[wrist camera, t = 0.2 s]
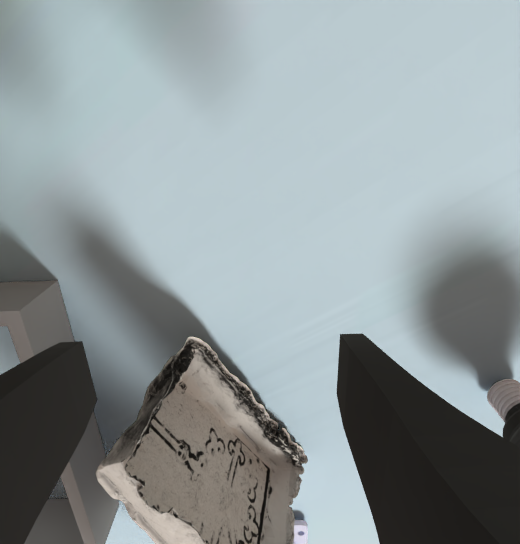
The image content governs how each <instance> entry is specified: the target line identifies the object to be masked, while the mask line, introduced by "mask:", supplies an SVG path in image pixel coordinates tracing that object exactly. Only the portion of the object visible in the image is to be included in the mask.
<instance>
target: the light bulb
mask: <svg viewBox="0 0 520 544" xmlns="http://www.w3.org/2000/svg"><path fill="white" fill-rule="evenodd" d="M487 399H488V402H489V403H490V404H491V406H492V407H493V408H494V409H495V411H496V412H497V413H498V414H499V416H501V418H502V419H503V420H504V422H505V425H504V428H503V438H505V439H506V440H508V441H510V442H512V443H513V444H515V445H517V446H519V447H520V383H519V382H518V381H516V380H513V379H505V380H501V381H499V382H497V383H495V384H494V385H493V386H492V387H491V388H490V389H489V391H488V394H487Z"/></svg>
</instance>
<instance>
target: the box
mask: <svg viewBox="0 0 520 544" xmlns="http://www.w3.org/2000/svg"><path fill="white" fill-rule="evenodd" d="M0 326H8V329H9V332H10V334H11V337H12V340H13V343H14V346H15V349H16V352H17V354H18V357H19V360H20V363H22V362H24V361H26V360H28V359H29V358H31V357H33V356H35V355H36V354H38V353H40V352H42V351H44V350H46V349H47V348H49V347H51V346H53V345H56V344H58V343H60V342H75V341H74V338H73V334H72V330H71V327H70V323H69V319H68V316H67V312H66V309H65V305H64V301H63V298H62V294H61V290H60V287H59V283H58V280H56V281H24V282H0ZM105 458H106V454H105V451H104V447H103V443H102V440H101V436H100V432H99V429H98V425H97V422H96V418H95V414H94V411H93V412H92V415H91V418H90V420H89V423H88V425H87V427H86V430H85V432H84V434H83V436H82V438H81V440H80V442H79V444H78V446H77V448H76V449H75V451H74V453H73V455H72V457H71V458H70V460H69V462H68V464H67V466H66V467H65V469H64V471H63V473H62V475H61V476H60V477H61V479H62V482H63V485H64V488H65V491H66V494H67V496H68V499H48V500H47V501H46V503H45V505H44V507H43V509H42V510H41V512H40V514H39V516H38V517H37V519H36V521H35V523H34V525H33V527H32V529H31V531H30V533H29V535H28V537H27V539H26V541H25V543H24V544H105V542H106V540H107V537H108V534H109V531H110V529H111V526H112V523H113V521H114V518H115V515H116V512H117V510H118V507H119V502H118V500H117V499H113V498H112V497H111V496H110V495H109V494H108V493H107V492H106V491H105V489H104V488H103V487H102V485H101V484H100V483H99V482H98V479H97V477H96V471H97V469H98V467H99V465H100V464H101V462H102V461H103V460H104V459H105Z"/></svg>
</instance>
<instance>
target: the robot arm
mask: <svg viewBox="0 0 520 544" xmlns="http://www.w3.org/2000/svg"><path fill="white" fill-rule="evenodd" d="M337 397H338V402H339V408H340V413H341V417H342V422H343V427H344V430H345V433H346V437H347V440H348V443H349V446H350V449H351V452H352V455H353V458H354V461H355V464H356V467H357V470H358V473H359V476H360V479H361V482H362V485H363V488H364V491H365V494H366V497H367V500H368V503H369V506H370V509H371V512H372V516H373V519H374V523H375V526H376V530H377V534H378V538H379V542H380V544H520V447H519V446H517V445H515V444H513V443H512V442H510V441H508V440H506V439H505V438H503V437H501V436H499V435H498V434H496V433H494V432H493V431H491V430H489V429H488V428H486V427H485V426H483V425H481V424H480V423H478V422H477V421H475V420H474V419H472V418H470V417H469V416H467V415H466V414H464V413H462V412H461V411H460V410H458V409H457V408H455V407H454V406H452V405H451V404H449V403H448V402H446V401H445V400H444V399H442V398H441V397H440V396H438V395H437V394H435V393H434V392H433V391H431V390H430V389H429V388H427V387H426V386H425V385H423V384H422V383H421V382H419V381H418V380H417V379H416V378H414V377H413V376H412V375H411V374H409V373H408V372H407V371H406V370H404V369H403V368H402V367H401V366H400V365H398V364H397V363H396V362H395V361H394V360H392V359H391V358H390V357H389V356H388V355H387V354H386V353H384V352H383V351H382V350H381V349H380V348H379V347H377V346H376V345H375V344H374V343H373V342H372V341H371V340H369V339H368V338H367V337H366V336H365V335H363V334H340V347H339V364H338V381H337ZM96 402H97V397H96V393H95V389H94V385H93V382H92V378H91V374H90V370H89V366H88V362H87V358H86V355H85V351H84V347H83V343H82V342H60V343H58V344H56V345H53V346H51V347H49V348H47V349H46V350H44V351H42V352H40V353H38V354H36V355H35V356H33V357H31V358H29V359H28V360H26V361H24V362H22V363H21V364H19V365H17V366H15V367H14V368H12V369H10V370H8V371H7V372H5V373H3V374H1V375H0V544H24V543H25V541H26V539H27V537H28V535H29V533H30V531H31V529H32V527H33V525H34V523H35V521H36V519H37V517H38V516H39V514H40V512H41V510H42V509H43V507H44V505H45V503H46V501H47V500H48V498H49V496H50V494H51V492H52V491H53V489H54V487H55V485H56V484H57V482H58V480H59V478H60V476H61V475H62V473H63V471H64V469H65V467H66V466H67V464H68V462H69V460H70V458H71V457H72V455H73V453H74V451H75V449H76V448H77V446H78V444H79V442H80V440H81V438H82V436H83V434H84V432H85V430H86V427H87V425H88V423H89V420H90V418H91V415H92V412H93V410H94V407H95V404H96ZM307 535H308V527H307V522H306V521H304V520H295V522H294V542H293V544H307Z"/></svg>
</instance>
